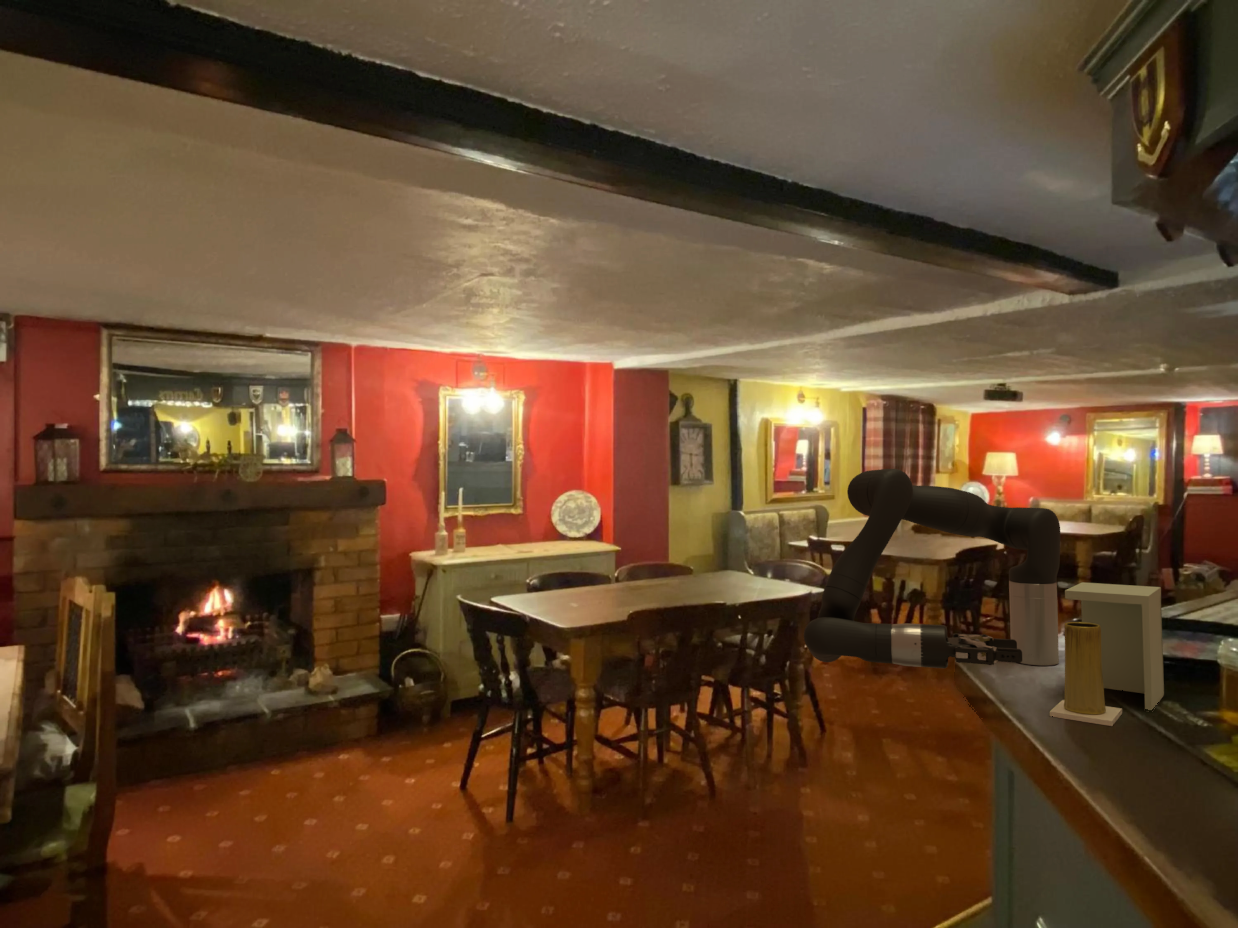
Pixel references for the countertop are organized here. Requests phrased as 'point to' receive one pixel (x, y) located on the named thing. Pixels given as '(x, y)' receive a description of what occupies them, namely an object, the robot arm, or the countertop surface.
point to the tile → (1087, 715)
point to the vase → (1083, 669)
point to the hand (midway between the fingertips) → (1019, 650)
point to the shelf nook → (1126, 635)
